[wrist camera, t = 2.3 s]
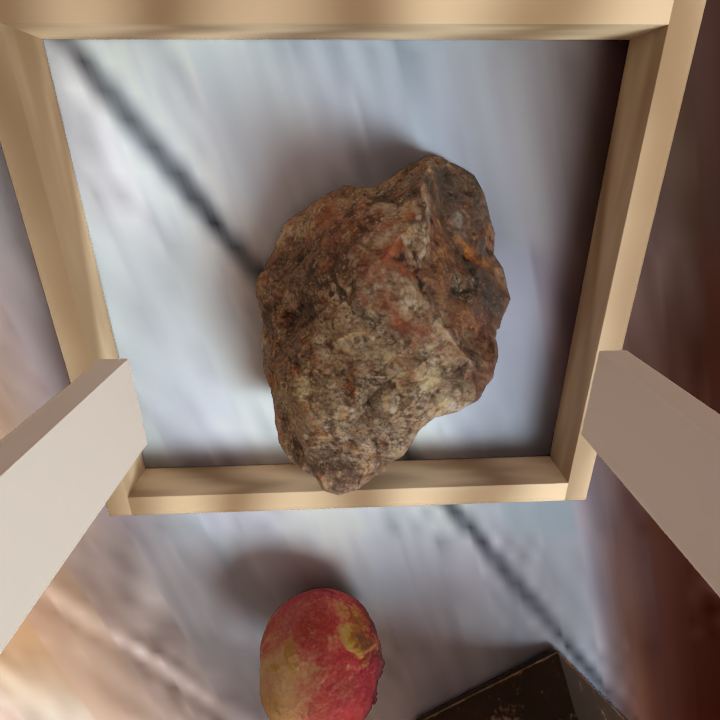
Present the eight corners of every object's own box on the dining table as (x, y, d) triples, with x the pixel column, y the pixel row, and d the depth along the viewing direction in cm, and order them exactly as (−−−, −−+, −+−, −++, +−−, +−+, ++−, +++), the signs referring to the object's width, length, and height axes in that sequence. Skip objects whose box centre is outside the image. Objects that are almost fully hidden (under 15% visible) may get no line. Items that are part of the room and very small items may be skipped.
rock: (523, 293, 25) (436, 116, 21) (626, 348, 17) (515, 78, 13) (300, 432, 26) (183, 289, 23) (298, 542, 18) (118, 349, 15)
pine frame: (128, 485, 27) (109, 515, 25) (2, 2, 18) (-47, -20, 16) (565, 471, 28) (585, 499, 26) (665, 4, 19) (710, -16, 17)
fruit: (277, 551, 30) (257, 678, 23) (391, 565, 31) (407, 692, 24) (261, 630, 33) (239, 766, 26) (365, 641, 34) (373, 775, 27)
